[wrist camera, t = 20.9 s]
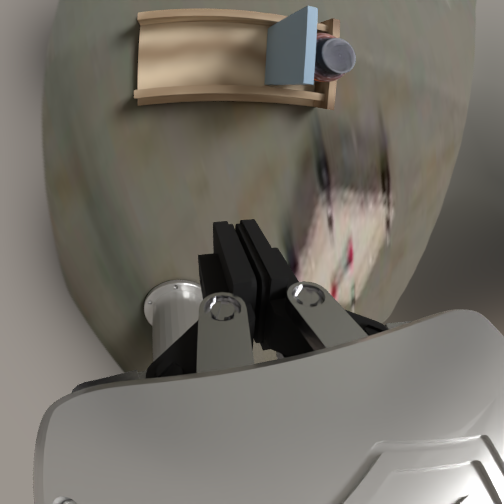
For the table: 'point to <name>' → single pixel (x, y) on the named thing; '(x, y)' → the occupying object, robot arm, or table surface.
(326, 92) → the lane tray
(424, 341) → the robot arm
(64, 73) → the table surface
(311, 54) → the pusher plate
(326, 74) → the supplement bottle
